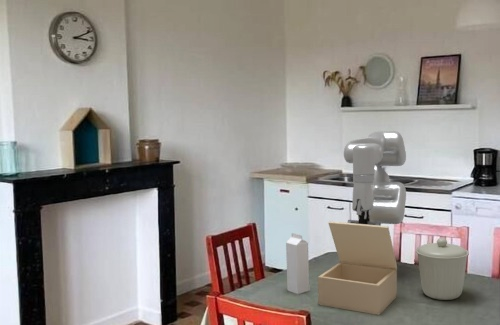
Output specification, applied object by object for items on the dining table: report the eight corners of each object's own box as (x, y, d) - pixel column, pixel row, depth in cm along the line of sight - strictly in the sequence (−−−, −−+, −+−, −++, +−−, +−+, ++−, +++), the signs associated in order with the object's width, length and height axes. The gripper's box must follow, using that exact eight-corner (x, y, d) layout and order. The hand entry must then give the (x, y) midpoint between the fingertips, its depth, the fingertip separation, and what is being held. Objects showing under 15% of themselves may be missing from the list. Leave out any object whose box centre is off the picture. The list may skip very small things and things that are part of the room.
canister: (434, 307, 188) (434, 246, 186) (406, 290, 205) (405, 235, 203) (479, 300, 192) (480, 241, 190) (448, 285, 210) (448, 230, 208)
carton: (340, 287, 211) (339, 262, 210) (397, 296, 199) (396, 269, 198) (318, 304, 194) (317, 276, 193) (379, 314, 182) (378, 285, 181)
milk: (297, 294, 205) (295, 236, 203) (287, 290, 210) (285, 234, 208) (309, 290, 209) (308, 234, 206) (299, 286, 214) (297, 231, 211)
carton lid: (339, 262, 210) (345, 250, 214) (396, 269, 198) (401, 256, 203) (328, 222, 200) (334, 211, 204) (387, 227, 188) (392, 215, 193)
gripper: (361, 176, 207) (362, 224, 209) (345, 181, 194) (346, 232, 196) (380, 177, 203) (381, 226, 205) (366, 181, 190) (366, 234, 192)
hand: (364, 228), depth 200 cm, fingers closed
